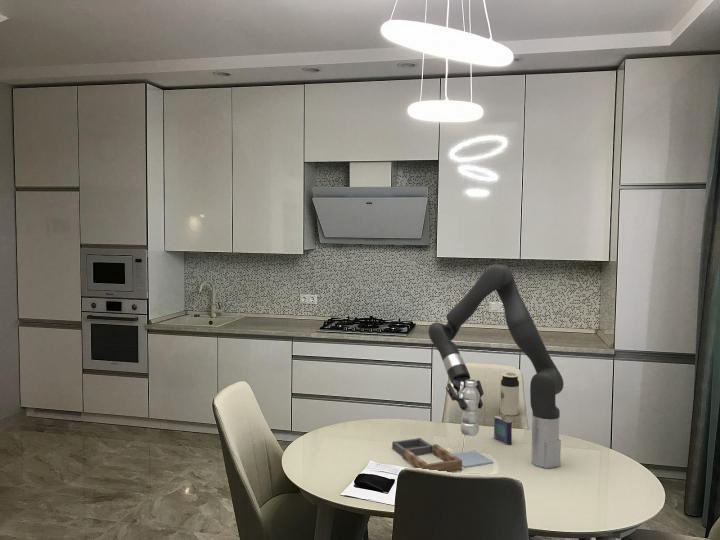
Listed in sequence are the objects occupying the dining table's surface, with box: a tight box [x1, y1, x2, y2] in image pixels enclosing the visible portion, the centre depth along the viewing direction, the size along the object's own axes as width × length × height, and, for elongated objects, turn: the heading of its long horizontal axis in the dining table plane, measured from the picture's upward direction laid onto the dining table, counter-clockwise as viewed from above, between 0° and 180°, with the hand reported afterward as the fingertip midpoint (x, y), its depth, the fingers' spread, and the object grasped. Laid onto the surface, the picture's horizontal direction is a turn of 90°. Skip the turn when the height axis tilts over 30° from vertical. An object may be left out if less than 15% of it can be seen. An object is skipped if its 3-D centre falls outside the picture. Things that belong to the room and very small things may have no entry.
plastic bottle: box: [460, 378, 480, 437], centre depth 220 cm, size 6×7×20 cm
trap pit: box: [391, 437, 433, 457], centre depth 230 cm, size 10×12×2 cm
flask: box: [493, 414, 513, 446], centre depth 240 cm, size 9×3×11 cm, turn 28°
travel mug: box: [500, 372, 520, 417], centre depth 277 cm, size 8×8×18 cm
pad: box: [452, 450, 494, 469], centre depth 221 cm, size 12×12×1 cm
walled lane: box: [402, 443, 463, 473], centre depth 216 cm, size 18×14×4 cm
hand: (472, 408), depth 218 cm, fingers closed on plastic bottle, 6 cm apart
